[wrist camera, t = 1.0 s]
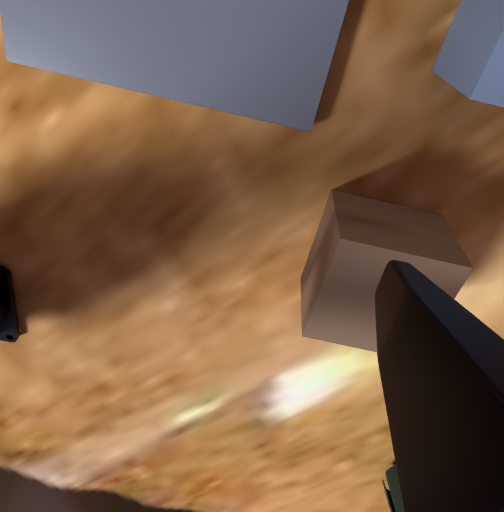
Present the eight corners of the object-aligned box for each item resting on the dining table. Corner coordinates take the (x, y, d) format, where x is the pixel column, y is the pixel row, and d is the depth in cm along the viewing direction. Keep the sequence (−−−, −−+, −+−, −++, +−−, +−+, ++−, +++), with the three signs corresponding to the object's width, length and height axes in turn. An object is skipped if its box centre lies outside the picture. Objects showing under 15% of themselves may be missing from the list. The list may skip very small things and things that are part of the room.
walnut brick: (395, 298, 26) (415, 360, 22) (300, 277, 26) (302, 336, 22) (440, 213, 23) (473, 268, 19) (331, 188, 22) (340, 238, 18)
